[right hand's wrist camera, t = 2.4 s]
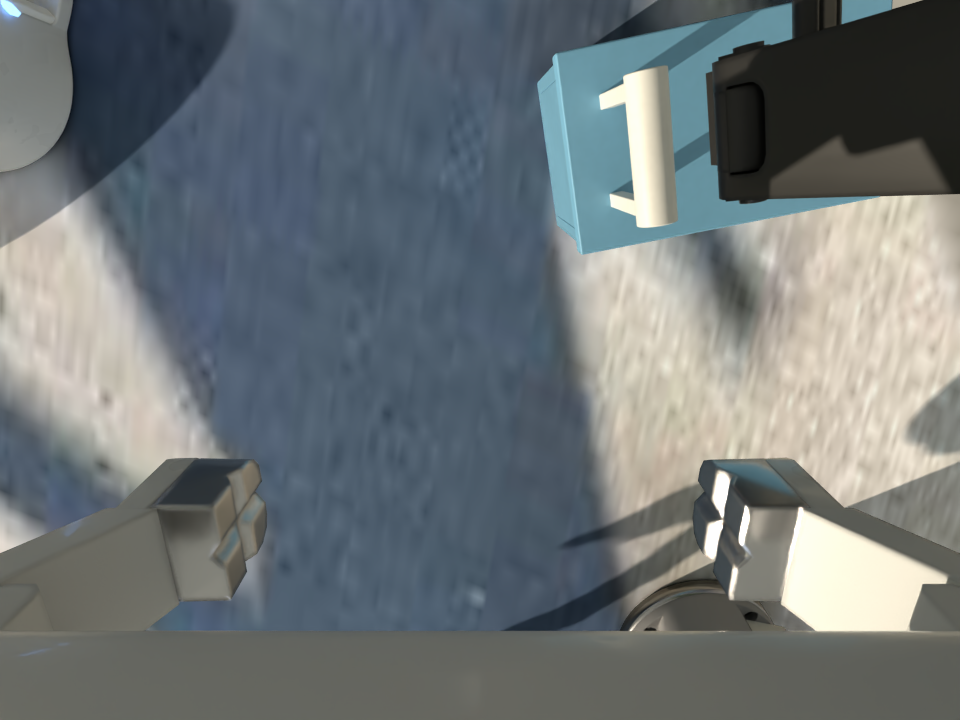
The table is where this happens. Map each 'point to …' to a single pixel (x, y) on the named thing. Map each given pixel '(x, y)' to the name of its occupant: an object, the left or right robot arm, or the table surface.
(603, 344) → the table surface
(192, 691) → the right robot arm
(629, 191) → the lid
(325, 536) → the table surface
